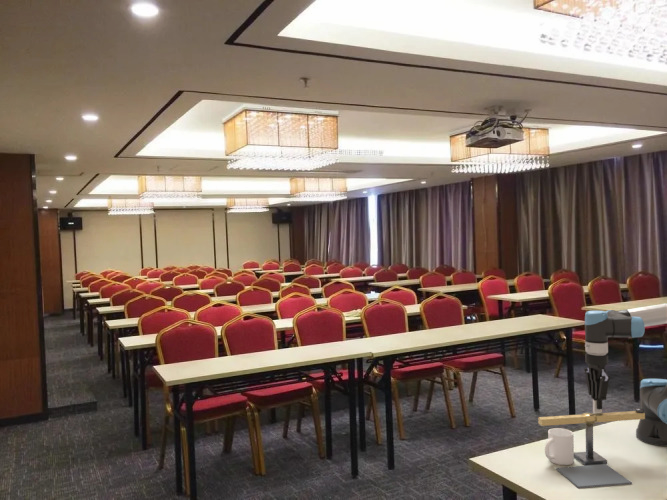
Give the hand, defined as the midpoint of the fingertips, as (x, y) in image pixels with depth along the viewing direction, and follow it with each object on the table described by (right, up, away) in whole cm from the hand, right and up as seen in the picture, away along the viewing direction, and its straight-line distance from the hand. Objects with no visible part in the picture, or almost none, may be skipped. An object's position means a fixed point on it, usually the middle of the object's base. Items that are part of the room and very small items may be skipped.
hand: (597, 416), depth 203 cm
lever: (-6, +1, -9) cm, 11 cm away
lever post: (-7, -13, -8) cm, 17 cm away
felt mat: (-12, -13, -21) cm, 27 cm away
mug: (-18, -14, -9) cm, 24 cm away
